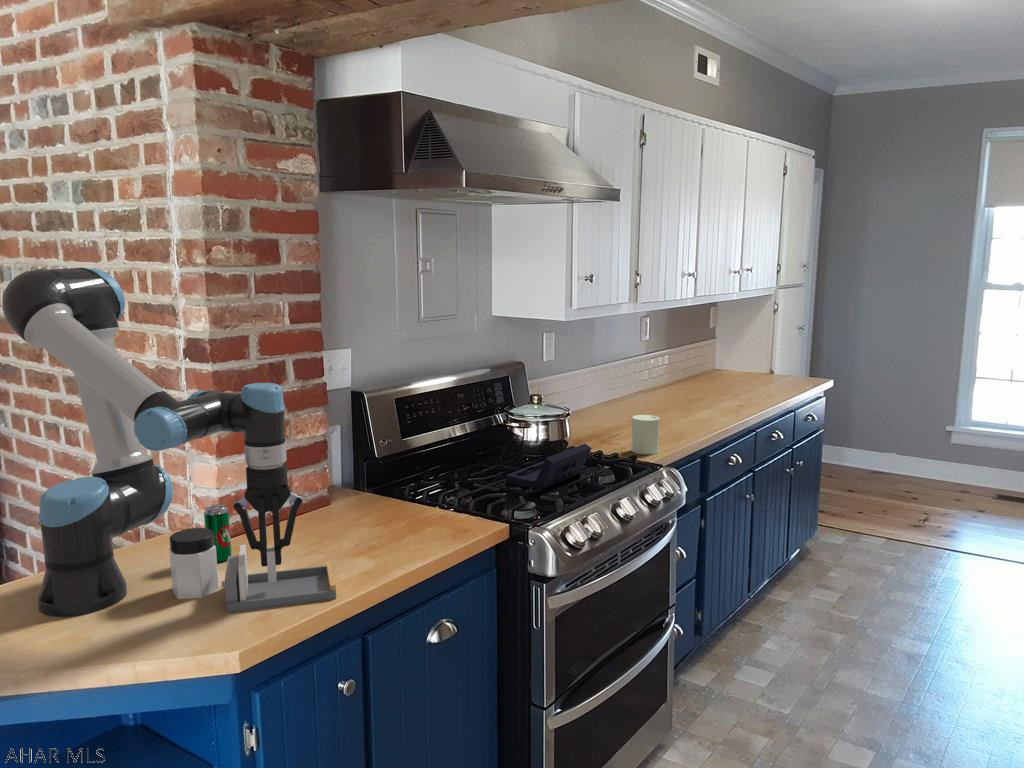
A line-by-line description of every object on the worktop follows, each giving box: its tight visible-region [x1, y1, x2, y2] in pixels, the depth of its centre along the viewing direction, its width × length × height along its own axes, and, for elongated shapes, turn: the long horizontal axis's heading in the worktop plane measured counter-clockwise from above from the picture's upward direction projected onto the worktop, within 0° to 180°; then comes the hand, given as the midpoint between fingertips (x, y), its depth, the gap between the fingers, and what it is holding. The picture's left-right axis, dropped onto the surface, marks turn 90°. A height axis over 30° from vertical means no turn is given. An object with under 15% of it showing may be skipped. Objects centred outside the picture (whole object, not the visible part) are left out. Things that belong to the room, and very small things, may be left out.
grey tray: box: [224, 555, 337, 614], centre depth 156 cm, size 20×13×7 cm, turn 107°
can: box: [630, 414, 661, 456], centre depth 264 cm, size 9×9×12 cm
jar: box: [168, 527, 220, 600], centre depth 157 cm, size 9×8×12 cm
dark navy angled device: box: [505, 443, 592, 491], centre depth 233 cm, size 21×16×10 cm
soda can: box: [203, 503, 233, 564], centre depth 173 cm, size 5×5×12 cm
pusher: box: [221, 544, 248, 601], centre depth 153 cm, size 4×11×8 cm, turn 17°
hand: (272, 580), depth 155 cm, fingers closed
